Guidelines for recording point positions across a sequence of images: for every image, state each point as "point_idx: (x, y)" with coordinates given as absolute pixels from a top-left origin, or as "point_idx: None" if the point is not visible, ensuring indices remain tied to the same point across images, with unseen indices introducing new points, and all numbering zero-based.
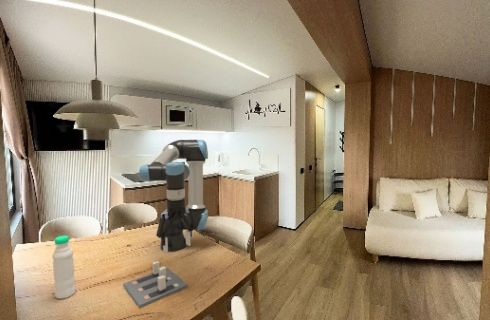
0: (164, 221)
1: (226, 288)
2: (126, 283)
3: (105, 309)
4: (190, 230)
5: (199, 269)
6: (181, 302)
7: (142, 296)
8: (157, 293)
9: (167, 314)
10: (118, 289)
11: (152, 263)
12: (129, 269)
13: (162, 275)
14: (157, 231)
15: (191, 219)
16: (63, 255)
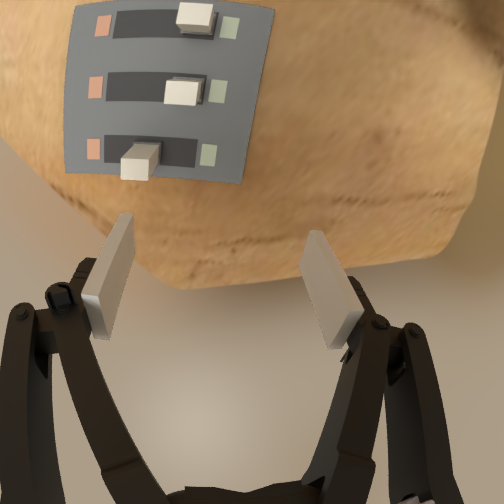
0: (57, 491)
1: None
2: (83, 11)
3: (7, 111)
4: (345, 355)
5: (357, 121)
6: (175, 231)
7: (86, 133)
8: None
9: None
10: (61, 20)
11: (180, 4)
12: None
13: (144, 159)
14: (7, 351)
15: (392, 438)
16: None
